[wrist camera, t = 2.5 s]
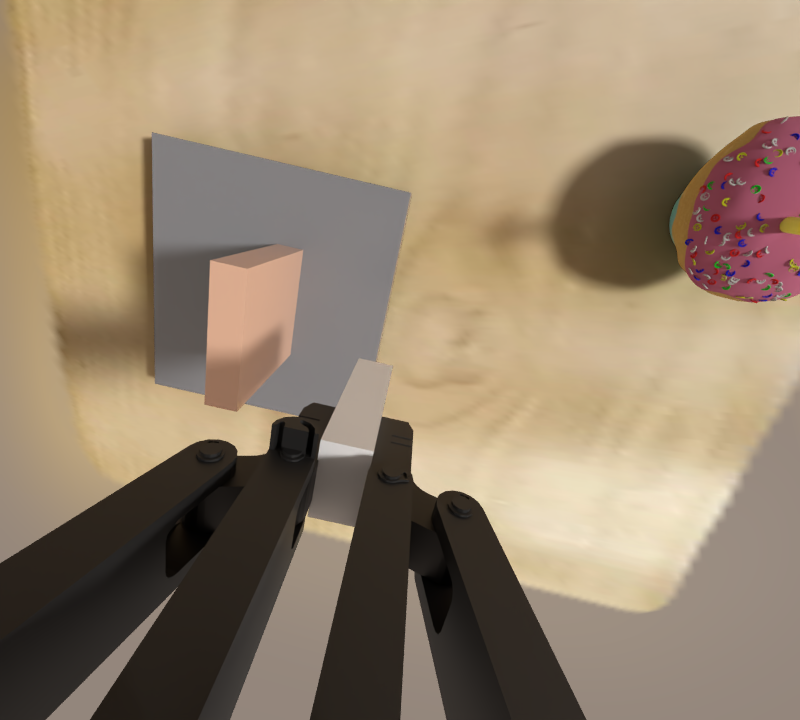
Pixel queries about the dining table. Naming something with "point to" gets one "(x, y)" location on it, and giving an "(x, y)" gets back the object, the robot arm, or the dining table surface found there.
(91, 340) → the dining table surface
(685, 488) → the dining table surface
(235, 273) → the tile
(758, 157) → the cupcake
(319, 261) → the board
